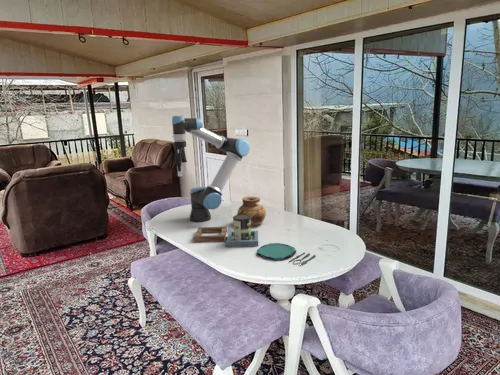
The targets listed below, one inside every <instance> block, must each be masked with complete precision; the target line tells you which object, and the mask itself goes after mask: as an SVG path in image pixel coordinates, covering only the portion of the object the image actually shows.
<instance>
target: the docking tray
mask: <svg viewBox="0 0 500 375" xmlns="http://www.w3.org/2000/svg"><path fill="white" fill-rule="evenodd" d="M227 232H228V233H227V237H226V238H227V239H226V247H227V248H236V247H237V248H239V247H240V248H242V247H259V230H251V240H234V230H229V231H227Z"/></svg>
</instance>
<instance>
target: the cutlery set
mask: <svg viewBox="0 0 500 375" xmlns="http://www.w3.org/2000/svg"><path fill="white" fill-rule="evenodd" d="M256 253H257V254H256V255H260V256H262V257H264V258H267V259H270V260H271V259H274V260H276V261H279V260H281V261H282V260H284V259H286V258H291V257H292V256H293V255H294V254H295V253H297V250H296V248H295V247H294V246H291V245H289V244H287V243H280V242H270V243H268V244H264V245H262V246H260V247H259V248H258V249H257V250H256ZM305 253H306V252H302V253H301V254H299V255H295V256H296V257H294V258H292V259H290V260H289V261H288V263H289V262H290V263H291V262H292V264H295V261H296V262H297V263H296V265H299V267H302V266H305V265H306V264H308V263H307V262H309V261H311V260H312V259H314V258H316V254H313V255H312V256H311V257H309V258H308V259H307V260H304V259H305V258H306V257H308V256H310V255H311V253H307V254H306V255H304V254H305ZM302 255H304V256H303V257H301V256H302ZM300 257H301V258H300ZM299 258H300V259H299ZM302 260H303V261H302ZM298 263H300V264H301V265H302V266H301V265H300V264H298Z"/></svg>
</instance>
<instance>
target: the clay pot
mask: <svg viewBox="0 0 500 375" xmlns="http://www.w3.org/2000/svg"><path fill="white" fill-rule="evenodd" d="M241 199H242V205H241V206H240V207H238V209H237V215H240V214H245V215H250V216H251V218H250V221H251V226H258V225H260V224H262V223H263V222H264V221H265V218H266V214H267V213H266V208H265V207H264V206H263V205H261V204H259V203H260V201H261V199H260V197H258V196H245V197H242V198H241Z"/></svg>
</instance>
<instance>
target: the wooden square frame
mask: <svg viewBox="0 0 500 375" xmlns="http://www.w3.org/2000/svg"><path fill="white" fill-rule="evenodd" d="M227 232H228V229H227V226H205V227H204V226H202V227H201V226H200V227H198V228H197V230H196V232H195V235H194V236H193V241H194V243H210V242H211V243H212V242H213V243H214V242H225V240H226V238H227V237H226V236H227ZM217 233H218V234H217ZM219 233H220V234H219ZM202 234H207V235H202ZM209 234H214V235H209Z"/></svg>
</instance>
